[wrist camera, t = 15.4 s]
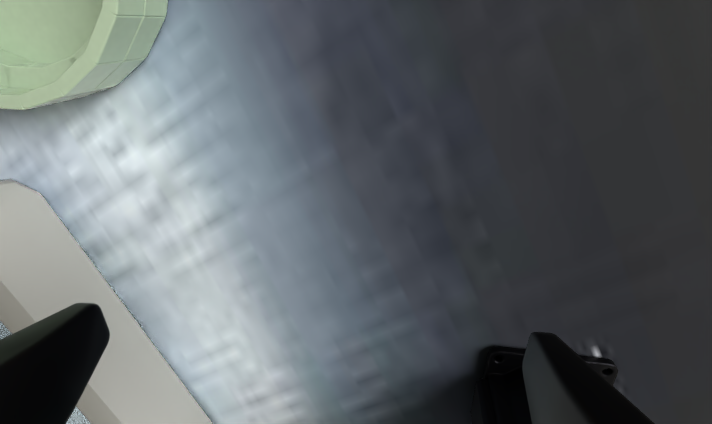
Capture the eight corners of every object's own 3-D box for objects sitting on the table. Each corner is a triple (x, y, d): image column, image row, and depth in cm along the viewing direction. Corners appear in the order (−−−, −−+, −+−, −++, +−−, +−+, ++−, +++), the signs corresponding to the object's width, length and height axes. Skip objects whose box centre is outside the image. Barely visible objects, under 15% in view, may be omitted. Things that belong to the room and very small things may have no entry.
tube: (-115, 223, 20) (173, 539, 28) (-92, 201, 17) (223, 563, 25) (5, 176, 24) (226, 463, 32) (41, 152, 21) (275, 476, 29)
